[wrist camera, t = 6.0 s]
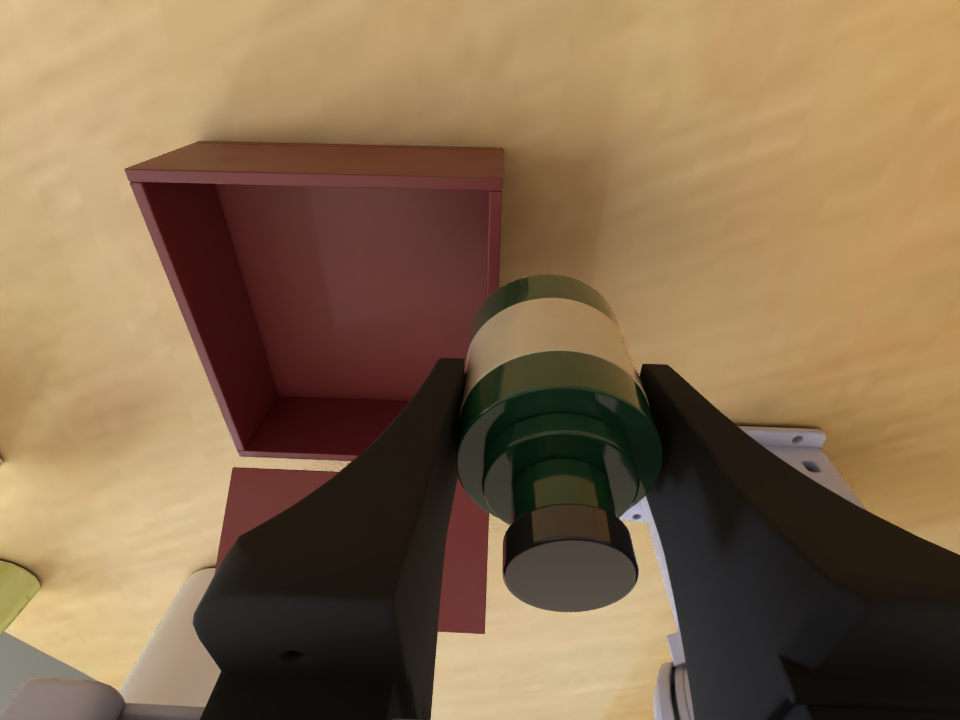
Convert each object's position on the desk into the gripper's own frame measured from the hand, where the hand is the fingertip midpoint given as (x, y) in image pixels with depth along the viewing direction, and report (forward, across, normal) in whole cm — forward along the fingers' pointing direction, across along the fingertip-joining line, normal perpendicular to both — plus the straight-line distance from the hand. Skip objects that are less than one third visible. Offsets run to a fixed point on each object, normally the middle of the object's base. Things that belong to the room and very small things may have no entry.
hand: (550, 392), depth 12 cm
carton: (+10, +7, +2) cm, 12 cm away
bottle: (+2, 0, 0) cm, 2 cm away
